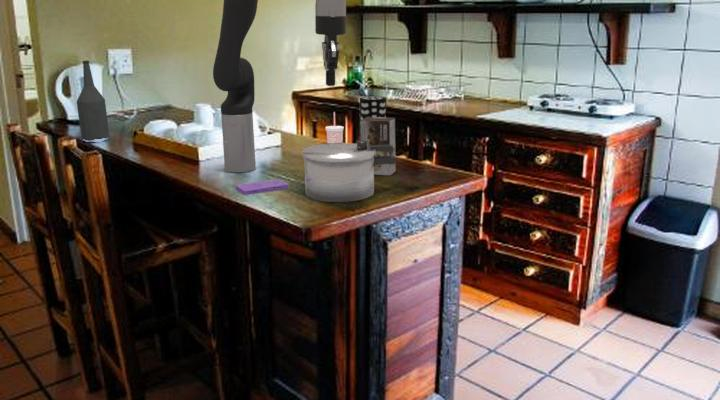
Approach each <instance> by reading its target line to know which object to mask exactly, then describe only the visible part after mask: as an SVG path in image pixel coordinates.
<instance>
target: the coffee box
mask: <svg viewBox="0 0 720 400" xmlns="http://www.w3.org/2000/svg"><path fill="white" fill-rule="evenodd" d="M360 125H361V140H363V141H367V145H388V144H391V145H392V146H393V151H376V156H375V157H381V156H395V157H396V156H397V155H396V117H387V116H386V117H366V118H364V119H362V120H361V121H360V120H359V126H360ZM396 158H397V157H396ZM396 165H397V163H396V164H381V165H374V176H375V175H377V176H391V175H393V174H394V173H395V172H396V169H397V168H396Z"/></svg>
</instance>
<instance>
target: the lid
mask: <svg viewBox="0 0 720 400" xmlns="http://www.w3.org/2000/svg"><path fill="white" fill-rule="evenodd" d="M376 151H393V146H392V145H391V144H388V145H367V141H363V140H361V141H360V140H357V141H356V143H352V142H349V143H348V142H342V143H327V142H326V143H322V144H320V143H319V144H314V145H310V146H307V147H305V148H303V149H302V154H301V155H302V158H303V159H304V158H305V159H307V160H310V161H315V162H324V163H349V162H358V161H364V160H368V159H371V158H373V157H375V156H376Z"/></svg>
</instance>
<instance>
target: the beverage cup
mask: <svg viewBox="0 0 720 400" xmlns="http://www.w3.org/2000/svg"><path fill="white" fill-rule="evenodd" d="M344 128H345V127H344V126H342V125H336V111H333V125H327V126H325V131H326V140H327V142H326V143H343V139H344V138H343V135H344Z"/></svg>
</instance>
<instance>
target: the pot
mask: <svg viewBox="0 0 720 400" xmlns="http://www.w3.org/2000/svg"><path fill="white" fill-rule="evenodd" d="M303 160H304V162H303V163H304V182H305V183H304V185H305V186H304V188H305V195H306V197H308V198H310V199H312V200H313V201H314V200H315V201H319V202H327V203H348V202H355V201H356V202H357V201H361V200H365V199H368V198H370V197H371V196H373V195H374V194H375V175H374V165H381V164H396V165H397V157H395V156H381V157H373V158H371V159H368V160H364V161H358V162H349V163H324V162H315V161H310V160H307V159H305V158H303Z"/></svg>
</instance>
